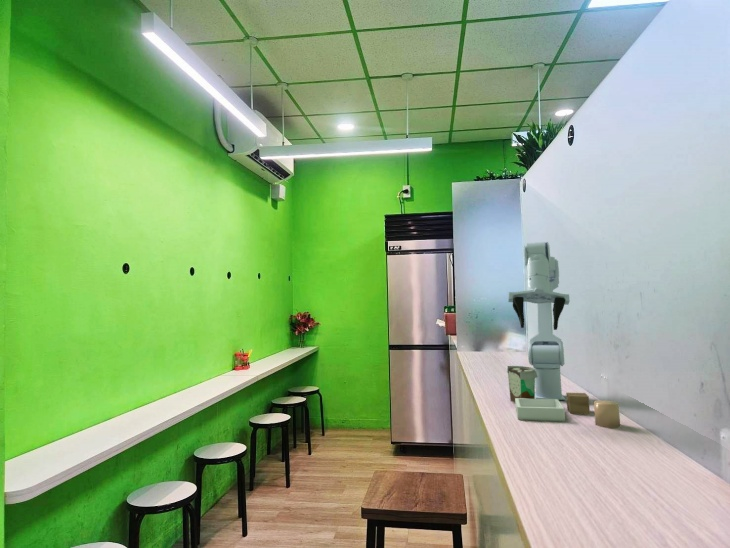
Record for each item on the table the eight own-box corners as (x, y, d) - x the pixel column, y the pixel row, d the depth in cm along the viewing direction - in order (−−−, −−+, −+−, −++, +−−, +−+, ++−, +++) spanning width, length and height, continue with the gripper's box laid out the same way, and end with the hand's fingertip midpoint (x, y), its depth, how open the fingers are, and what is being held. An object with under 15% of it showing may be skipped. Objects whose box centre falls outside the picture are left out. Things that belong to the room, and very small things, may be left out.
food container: (546, 409, 116) (543, 371, 117) (523, 410, 116) (520, 371, 117) (529, 399, 128) (527, 365, 129) (508, 400, 128) (506, 365, 129)
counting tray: (515, 409, 117) (514, 398, 117) (558, 410, 114) (557, 399, 114) (518, 419, 106) (517, 407, 107) (565, 421, 104) (564, 408, 104)
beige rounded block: (593, 421, 103) (591, 400, 103) (616, 422, 101) (615, 400, 102) (598, 427, 98) (596, 405, 98) (623, 428, 97) (621, 405, 97)
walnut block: (567, 409, 115) (566, 392, 115) (586, 410, 114) (584, 392, 114) (570, 414, 111) (569, 396, 111) (589, 414, 109) (588, 396, 110)
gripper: (509, 271, 114) (508, 317, 107) (569, 273, 110) (573, 321, 103) (508, 286, 120) (507, 330, 113) (565, 287, 116) (569, 334, 109)
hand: (538, 327), depth 108 cm, fingers open, 7 cm apart
